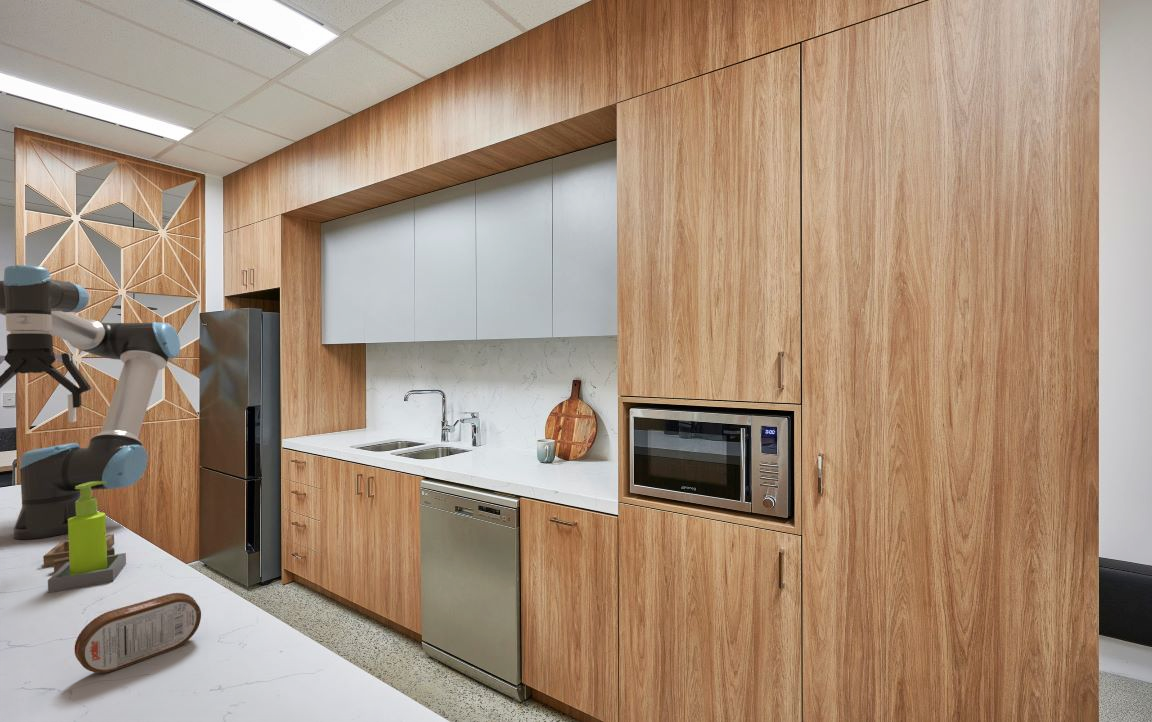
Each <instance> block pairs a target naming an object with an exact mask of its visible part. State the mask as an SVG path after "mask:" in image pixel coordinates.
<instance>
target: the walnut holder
mask: <svg viewBox="0 0 1152 722" xmlns="http://www.w3.org/2000/svg"><path fill="white" fill-rule="evenodd" d="M106 543H107V549H108V548H112V547H113V546H114V545H115V534H114V533H113V534H106ZM65 557H69V540H65V541H60V542H59V543H57V544H55V546H54V547H52V548H51V549H50V550H49V551H48V552H47V553H45V554H44V555H43V557H42V558H43V560H42V561H43V568H48V567H54V560H56V559H61V558H65Z"/></svg>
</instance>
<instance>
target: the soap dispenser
mask: <svg viewBox="0 0 1152 722" xmlns="http://www.w3.org/2000/svg"><path fill="white" fill-rule="evenodd" d="M106 483H107V482H106V481H94V482H87V483H84V484H81V485H78V486H75V489H80V492H81V499H79V500H77V501H76V502H75V505H76V516H74V517H71V518H69V519H68V533H67V534H68V536H67V537H68V541H69V562H70V575H73V574H79V573H85V572H91V571H97V570H103V569H108V568H107V543H106V535H107V522H106V520H107V519H106V512H99V511H98V498H97V497H94V496H92V490H91V487H92V486H95V485H99V484H106Z"/></svg>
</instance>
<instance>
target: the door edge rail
mask: <svg viewBox="0 0 1152 722" xmlns="http://www.w3.org/2000/svg"><path fill="white" fill-rule="evenodd" d="M115 554H116V553H115V548H114V547H113V546H112V547H111V548H108V549H107V556H109V555H115ZM66 562H69V557H65V558H61V559H56V560H54V566H53V573H54V574H55V573H56V572H57V571H58V570H59V569H60V568H61V567H62V566H63V565H64V564H65V563H66ZM54 574H53V575H54Z"/></svg>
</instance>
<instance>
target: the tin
mask: <svg viewBox="0 0 1152 722" xmlns="http://www.w3.org/2000/svg"><path fill="white" fill-rule="evenodd" d="M201 620H202V610H201V608H200V605H199V604H198V603H197V601H196V600H195V598H194V597H193V596H191V595H190V594H187V593H184V592H174V593H173V592H172V593H167V594H163V595H161V596H158V597H155V598H151V599H147V600H143V601H141V602H138V603H137V602H136V603H133V604H129V605H126V606H123V607H119V608H115V609H111V610H110V611H109V610H108V611H107V612H104V613H102V614H100V615H98V616H97V617H95V618H93V619H92V620H91V621H90V622H89V623H88V624H86V626H84V627H83V628H82V630H81V632H80V633H79V634H78V636H77V637H76V640H75V644H74V656H75V657H76V659H77V661H78V662H79V664H81V666H82V667H83V668H84V669H86V670H87V671H89V672H93V673H98V674H105V673H111V672H115V671H117V670H121V669H122V668H127V667H129V666H131V665H134V664H137V663H139V662H143V661H146V660H148V659H151V658H155V657H156V656H159V655H162V654H164V653H167V652H170V651H173V650H176V649H177V648H180V647H181V646H183V645H184V644H186V643H187V642H188V641H189V640H190V639H191V638H192V637H193V636H194V635H195V633H196V632H197V630H198V628H199V627H200V624H201Z"/></svg>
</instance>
